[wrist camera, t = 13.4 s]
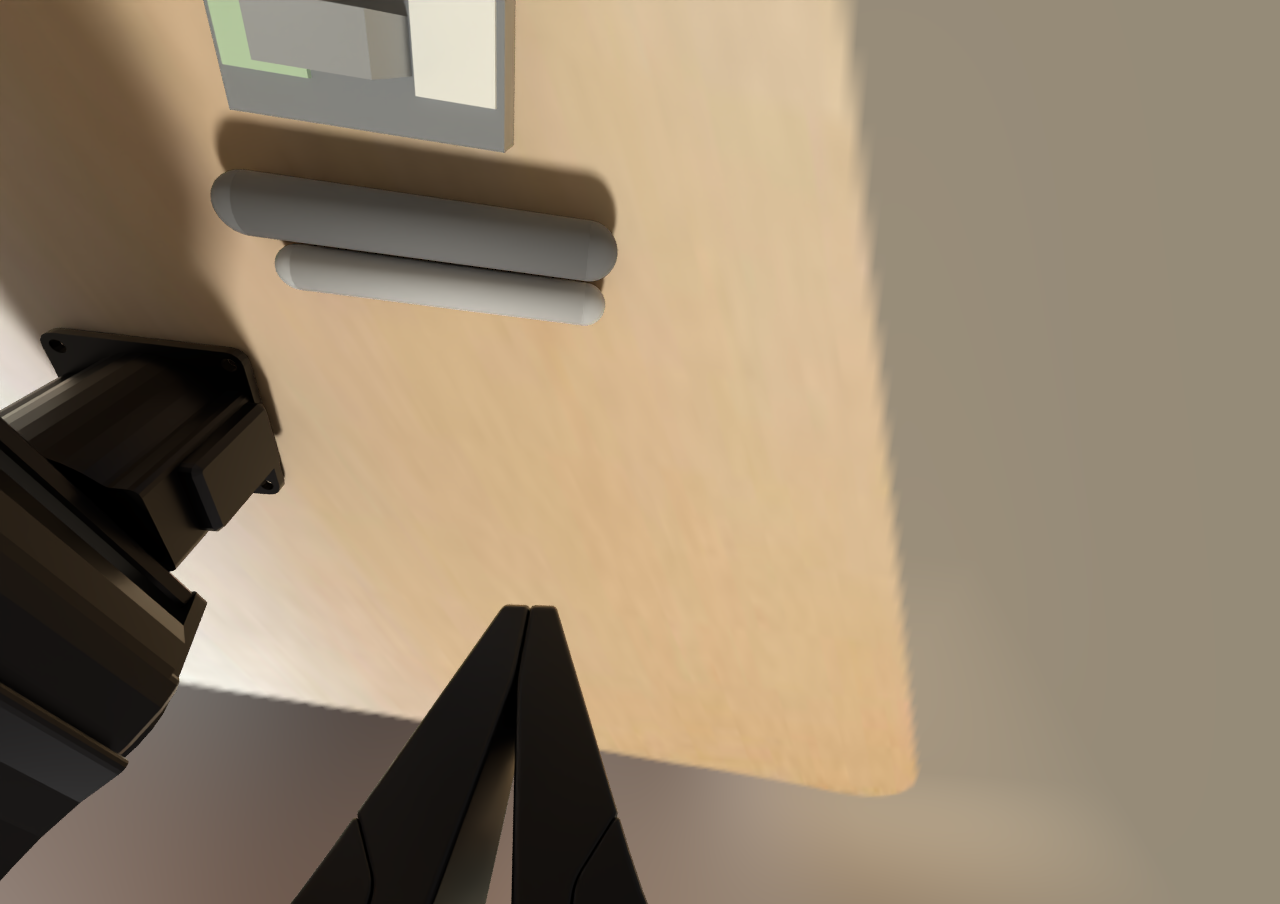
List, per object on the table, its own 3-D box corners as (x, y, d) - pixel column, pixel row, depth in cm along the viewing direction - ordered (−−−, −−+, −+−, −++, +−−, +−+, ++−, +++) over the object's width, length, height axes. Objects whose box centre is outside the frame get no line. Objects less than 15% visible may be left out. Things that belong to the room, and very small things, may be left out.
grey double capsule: (255, 274, 18) (223, 292, 17) (225, 159, 16) (186, 170, 15) (609, 319, 20) (608, 340, 18) (620, 218, 18) (620, 233, 16)
